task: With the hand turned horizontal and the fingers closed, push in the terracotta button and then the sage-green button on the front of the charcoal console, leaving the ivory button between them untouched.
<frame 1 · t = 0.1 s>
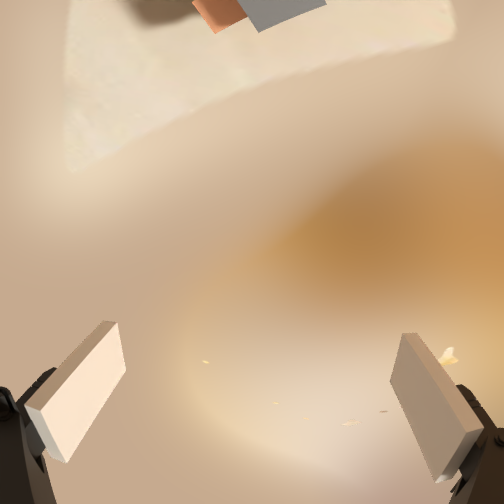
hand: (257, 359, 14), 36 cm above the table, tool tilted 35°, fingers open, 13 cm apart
terracotta button: (229, 2, 24), point 8 cm above the table, slide at 0.0 cm
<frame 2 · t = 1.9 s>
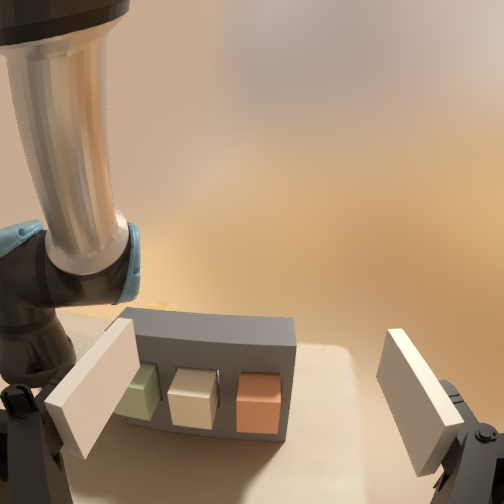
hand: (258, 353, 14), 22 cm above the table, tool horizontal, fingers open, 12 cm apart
sage button: (136, 388, 31), point 8 cm above the table, slide at 0.0 cm
terracotta button: (259, 401, 30), point 8 cm above the table, slide at 0.0 cm
console: (207, 419, 37), on the table
ivory button: (195, 396, 30), point 8 cm above the table, slide at 0.0 cm
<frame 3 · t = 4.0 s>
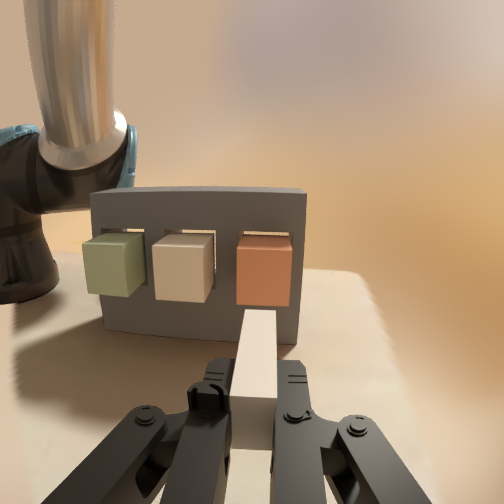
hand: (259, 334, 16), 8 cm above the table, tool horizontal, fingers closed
sage button: (116, 261, 27), point 8 cm above the table, slide at 0.0 cm
terracotta button: (264, 268, 26), point 8 cm above the table, slide at 0.0 cm
console: (200, 325, 33), on the table
ivory button: (185, 265, 27), point 8 cm above the table, slide at 0.0 cm
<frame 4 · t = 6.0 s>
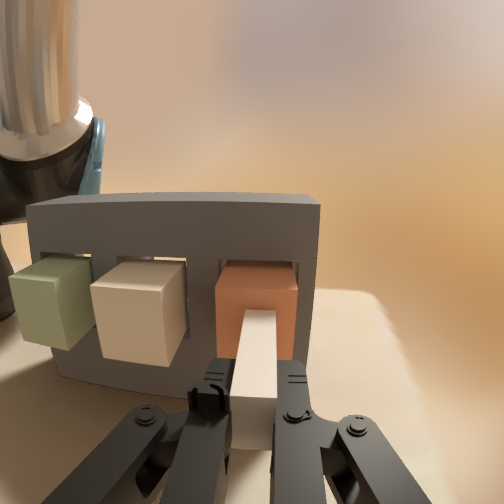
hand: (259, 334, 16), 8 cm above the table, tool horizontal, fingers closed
sage button: (57, 298, 18), point 8 cm above the table, slide at 0.0 cm
terracotta button: (257, 308, 19), point 8 cm above the table, slide at 0.9 cm, touching gripper
console: (175, 373, 24), on the table
ivory button: (144, 308, 18), point 8 cm above the table, slide at 0.0 cm
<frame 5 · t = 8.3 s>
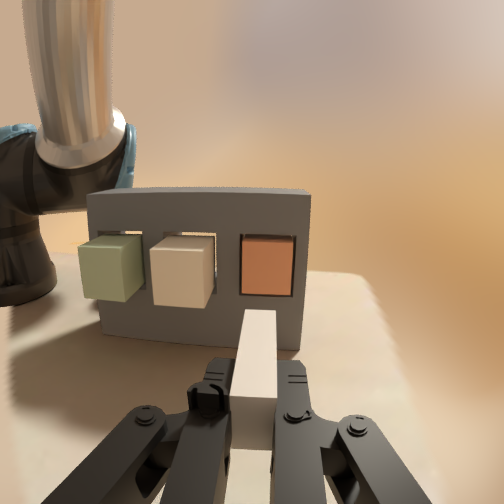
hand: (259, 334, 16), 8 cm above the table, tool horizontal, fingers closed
sage button: (114, 265, 26), point 8 cm above the table, slide at 0.0 cm
terracotta button: (267, 260, 29), point 8 cm above the table, slide at 3.3 cm
console: (200, 329, 32), on the table
ivory button: (185, 268, 26), point 8 cm above the table, slide at 0.0 cm
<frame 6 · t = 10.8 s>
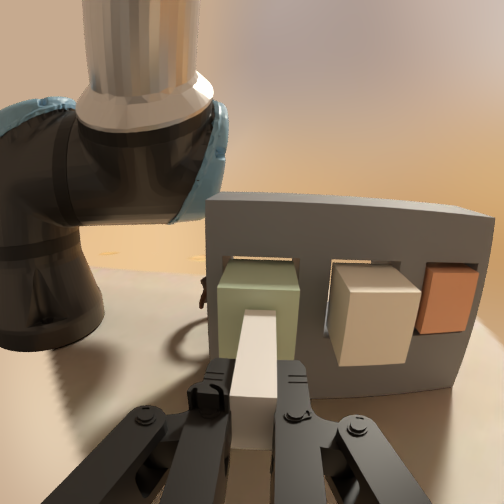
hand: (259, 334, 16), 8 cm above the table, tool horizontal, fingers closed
sage button: (259, 308, 19), point 8 cm above the table, slide at 0.1 cm, touching gripper
terracotta button: (435, 290, 21), point 8 cm above the table, slide at 3.3 cm
console: (337, 375, 25), on the table
ivory button: (368, 311, 18), point 8 cm above the table, slide at 0.0 cm
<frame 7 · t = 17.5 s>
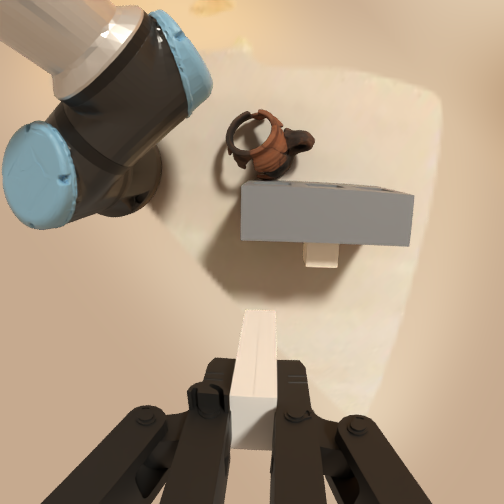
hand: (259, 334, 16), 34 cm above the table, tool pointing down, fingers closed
pottery mug: (270, 146, 47), on the table
console: (314, 202, 48), on the table
ivory button: (320, 243, 41), point 8 cm above the table, slide at 0.0 cm
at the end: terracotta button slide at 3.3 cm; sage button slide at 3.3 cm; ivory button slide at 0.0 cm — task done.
